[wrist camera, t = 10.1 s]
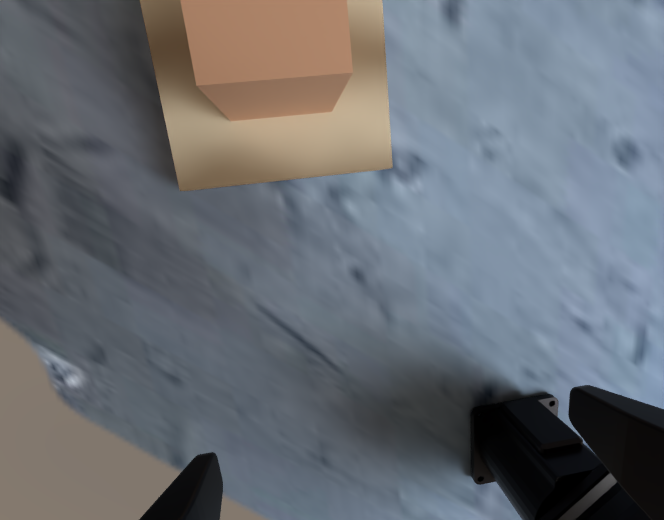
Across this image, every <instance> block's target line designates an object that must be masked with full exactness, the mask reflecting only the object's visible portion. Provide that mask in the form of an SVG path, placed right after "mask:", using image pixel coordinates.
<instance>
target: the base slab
mask: <svg viewBox="0 0 664 520" xmlns="http://www.w3.org/2000/svg"><path fill="white" fill-rule="evenodd" d="M140 4H141V9H142V14H143V18H144V23H145V28H146V32H147V37H148V42H149V47H150V51H151V56H152V61H153V66H154V70H155V75H156V80H157V85H158V89H159V94H160V99H161V104H162V108H163V113H164V118H165V123H166V127H167V132H168V137H169V142H170V146H171V151H172V156H173V160H174V165H175V170H176V175H177V179H178V184H179V189H180V191H189V190H200V189H209V188H218V187H227V186H236V185H246V184H255V183H264V182H273V181H282V180H292V179H301V178H310V177H319V176H328V175H338V174H347V173H356V172H365V171H374V170H383V169H389V168H392V152H391V136H390V119H389V103H388V87H387V71H386V54H385V38H384V22H383V6H382V0H347V7H348V19H349V30H350V42H351V54H352V66H353V74H352V76H351V77H350V79H349V81H348V83H347V85H346V87H345V88H344V90H343V92H342V94H341V96H340V98H339V99H338V101H337V103H336V105H335V107H334V109H333V110H332V112H325V113H314V114H303V115H293V116H282V117H271V118H261V119H250V120H239V121H230V120H229V119H228V118H227V117H226V116H225V115H224V114H223V113H222V112H221V111H220V110H219V108H218V107H217V106H216V105H215V104H214V103H213V102H212V101H211V100H210V99H209V98H208V97H207V96H206V95H205V94H204V93H203V92H202V91H201V90H200V89H199V88H198V87H197V86H196V81H195V75H194V70H193V65H192V59H191V54H190V49H189V44H188V38H187V33H186V28H185V22H184V17H183V12H182V6H181V1H180V0H140Z"/></svg>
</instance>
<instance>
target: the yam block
mask: <svg viewBox="0 0 664 520" xmlns="http://www.w3.org/2000/svg"><path fill="white" fill-rule="evenodd" d="M180 1H181V6H182V12H183V17H184V22H185V28H186V33H187V38H188V44H189V49H190V54H191V59H192V65H193V70H194V75H195V81H196V86H197V87H198V88H199V89H200V90H201V91H202V92H203V93H204V94H205V95H206V96H207V97H208V98H209V99H210V100H211V101H212V102H213V103H214V104H215V105H216V106H217V107H218V108H219V110H220V111H221V112H222V113H223V114H224V115H225V116H226V117H227V118H228V119H229V120H230V121H239V120H250V119H261V118H271V117H282V116H293V115H303V114H314V113H325V112H332V110H333V109H334V107H335V105H336V103H337V101H338V99H339V98H340V96H341V94H342V92H343V90H344V88H345V87H346V85H347V83H348V81H349V79H350V77H351V76H352V74H353V66H352V54H351V42H350V30H349V19H348V7H347V0H180Z"/></svg>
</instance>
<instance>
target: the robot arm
mask: <svg viewBox="0 0 664 520" xmlns="http://www.w3.org/2000/svg"><path fill="white" fill-rule="evenodd" d="M479 414H480V415H479ZM478 415H479V416H478ZM557 416H558V400H557V398H555V397H554V396H553V395H551V394H547V395H541V396H536V397H530V398H525V399H519V400H513V401H508V402H502V403H497V404H491V405H486V406H480V407H476V408H474V409H473V410H472V412H471V465H472V478H473V480H474V482H475V483H476V484H485V483H490V482H495V481H496V482H497V483H498V485H499V486H500V488H501V489H502V491H503V492H504V494H505V495H506V496H507V498H508V499H509V501H510V502H511V504H512V505H513V507H514V508H515V510H516V511H517V512H518V514H519V515H520V517H521V518H522V520H664V409H661V408H658V407H655V406H652V405H649V404H646V403H643V402H639V401H636V400H633V399H630V398H627V397H624V396H621V395H618V394H615V393H612V392H609V391H606V390H603V389H600V388H597V387H593V386H590V385H584V386H578V387H574V388H572V390H571V391H570V400H569V419H570V421H571V423H572V425H573V426H574V428H575V429H576V430H577V431H578V433H579V434H580V435H581V437H582V438H583V439H584V440H585V442H586V443H587V444H588V445H589V447H590V448H591V449H592V450H593V452H594V453H595V454H594V453H593V452H592V451H591V450H590V449H589V448H588V447H587V446H585V445H584V444H583V440H582V438H581V437H580V436H578V435H577V434H576V433H575V432H574V431H573V430H572V429H571V428H569V427H568V426H567V425H566V424H565V423H564V422H563V421H561V420H560V419H559V418H558V417H557ZM222 494H223V481H222V476H221V472H220V467H219V463H218V458H217V456H216V454H215V453H213V452H211V453H205V454H200V455H197V456H196V457H195V458H194V459H193V460H192V461H191V462H190V463H189V464H188V466H187V467H186V468H185V469H184V470H183V471H182V472H181V473H180V474H179V476H178V477H177V478H176V479H175V480H174V481H173V482H172V484H171V485H170V486H169V487H168V488H167V489H166V490H165V491H164V492H163V494H162V495H161V496H160V497H159V498H158V499H157V500H156V501H155V503H154V504H153V505H152V506H151V507H150V508H149V509H148V510H147V511H146V513H145V514H144V515H143V516H142V517H141V518H140V519H139V520H219V519H220V511H221V502H222Z"/></svg>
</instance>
